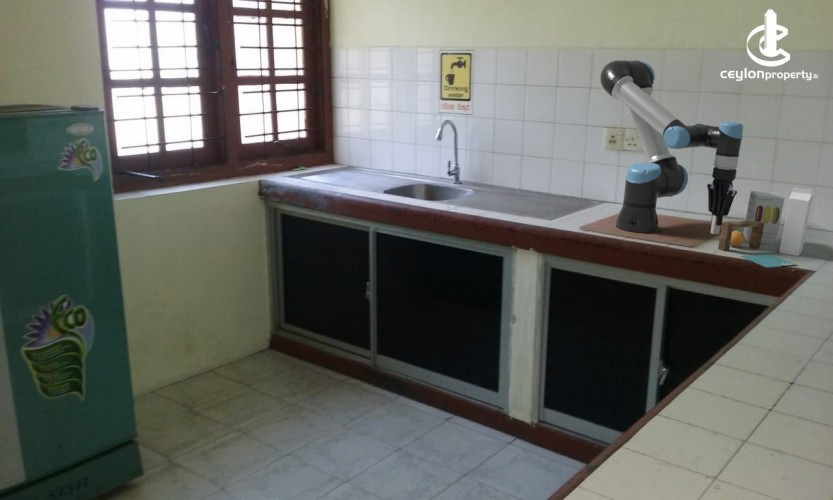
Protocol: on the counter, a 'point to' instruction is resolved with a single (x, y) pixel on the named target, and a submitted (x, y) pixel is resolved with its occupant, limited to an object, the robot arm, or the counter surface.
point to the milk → (796, 221)
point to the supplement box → (765, 214)
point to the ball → (737, 239)
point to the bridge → (728, 227)
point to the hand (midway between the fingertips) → (714, 233)
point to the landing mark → (767, 260)
